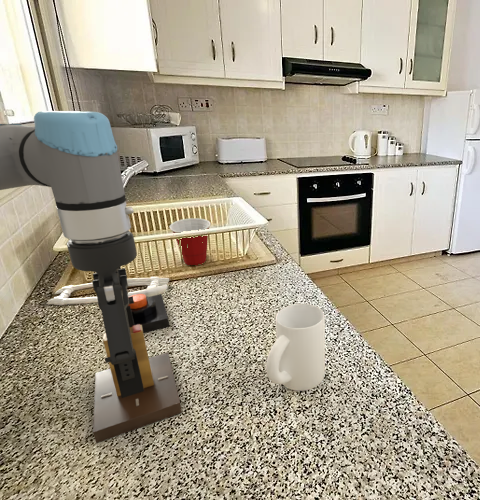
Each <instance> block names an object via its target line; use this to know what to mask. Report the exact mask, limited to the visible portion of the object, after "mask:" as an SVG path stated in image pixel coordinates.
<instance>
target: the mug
mask: <svg viewBox="0 0 480 500" xmlns="http://www.w3.org/2000/svg"><path fill="white" fill-rule="evenodd" d="M274 320H275V336H276V340H275V341H274V343H273V344H272V345H271V348H270V349H269V352H268V355H267V358H266V361H265V372H266V376H267V378H268V380H269V381H270V382H271V383H272V384H275V385H283V387H285V388H286V389H288V390H290V391H296V392H303V391H308V390H312V389H314V388H316V387H318V386H319V385H320V384H321V383H322V382H323V380H324V379H325V377H326V317H325V313H324V311H323V309H322V308H320V307H319V306H317V305H314V304H310V303H293V304H290V305H287V306H284V307H282V308H281V309H280V310H278V311H277V313H276V315H275V318H274Z"/></svg>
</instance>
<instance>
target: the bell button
mask: <svg viewBox="0 0 480 500" xmlns="http://www.w3.org/2000/svg"><path fill="white" fill-rule="evenodd" d="M132 296H133V300H134V303H133V304H129V305H128V306H130V307H131V309H136V308H141V307H143V306H145V305H147V299H146V295H144V294H135V295H132ZM132 296H130V297H132Z"/></svg>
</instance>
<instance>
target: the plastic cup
mask: <svg viewBox="0 0 480 500" xmlns="http://www.w3.org/2000/svg"><path fill="white" fill-rule="evenodd" d="M211 225H212V223H211V222H210V220H208V219H205V218H201V217H200V218H198V217H196V218H193V217H191V218H183V219H178V220H176V221H174V222H172V223H170V225H169V226H168V227H169V229H170V232H172V234H173V233H181V232H183V231H191V230H198V231H199V229H201V230H205V229H209V230H210V227H211ZM175 240H176V243H177V246H178V249H179V250H180V247H179V240H178V239H176V238H175ZM180 240H181V246H182V254H181V256H182V255H183V257H182V260H183V263H184V264H185V265H186V264H187V265H186V266H188V265H197V266H199V265H198V264H201V265H203V264H202V263H204V262H205V261H207V252H208V242H209V241H208V240H209V235H208V236H203V237H201V236H198V237H195V238H193V237H191V238H182V239H180ZM202 242H203V243H202ZM187 244H188V248H187ZM205 263H206V262H205ZM205 263H204V264H205Z"/></svg>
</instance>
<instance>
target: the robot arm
mask: <svg viewBox="0 0 480 500" xmlns="http://www.w3.org/2000/svg"><path fill="white" fill-rule="evenodd" d="M33 122H34V125H22V124H20V123H13V122H12V123H0V191H2V190H3V191H4V190H10V189H15V188H21V187H29V186H42V187H48V188H51V191H52V194H53V198H54V202H55V208H56V212H57V216H58V219H59V223H60V227H61V231H62V234H63V237H64V238H65V239H67V240H68V241H66V248H67V251H68V254H69V258H70V262H71V265H72V267H73V268H74V269H76V270H78V271H81V272H93V273H92V278H93V280H92V281H91V283H93V287H92V288H93V291H94V292H95V294H96V297H97V299H98V302H97V304H98V309H99V310H100V311H101V316H102V321H103V326H104V331H105V332H104V333H106V337H107V342H108V347H109V352H110V357H107V356H106V357H105V358H104V361H105V364H109V362H110V363H111V364H112V365H114V369H115V373H116V377H117V381H118V385H119V389H120V393H121V397H122V398H124V397H127V396H130V395H134V394H137V393H140V392H143V391H144V387H143V383H142V378H141V374H140V369H139V365H138V360H137V356H136V351H135V349H133V344H132V338H131V333H130V327H133V326H134V321H133V316H132V312H131V307H130V306H128V305H129V304H133V303H134V300H133V296H132V297H128V293H129V292H128V287H129V286H128V282H127V279H128V274H127V270H126V267H123V266H127V265H128V264H130V263H132V262H133V261H135V259H136V258H137V256H138V251H137V247H136V242H135V237H134V234H133V233H132V232H131V231H130V229H132V224H131V219H130V216H129V215H133V214H134V212H135V211H134V208H133V207H132V206H127V199H126V192H125V187H124V181H123V176H122V173H121V172H122V171H121V166H120V161H119V155H118V154H119V153H118V144H116V141H115V138H114V134H113V130H112V126H111V123H110V120H109V118H108V117H107V116H106V115H105V114H103V113H102V112H98V111H79V110H44V111H38V112H36V113H35V114H34V116H33ZM122 267H123V268H122Z"/></svg>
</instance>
